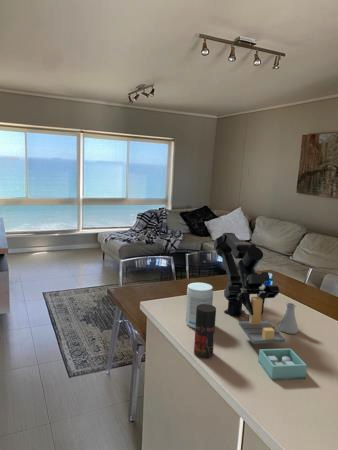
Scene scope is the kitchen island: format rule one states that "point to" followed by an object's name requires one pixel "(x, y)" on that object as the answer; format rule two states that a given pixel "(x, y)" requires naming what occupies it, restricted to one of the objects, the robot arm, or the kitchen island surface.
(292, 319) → the flask
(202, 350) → the deodorant
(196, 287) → the supplement tub
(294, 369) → the tub
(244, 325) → the gray board with blocks
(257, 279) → the robot arm
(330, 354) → the kitchen island surface
